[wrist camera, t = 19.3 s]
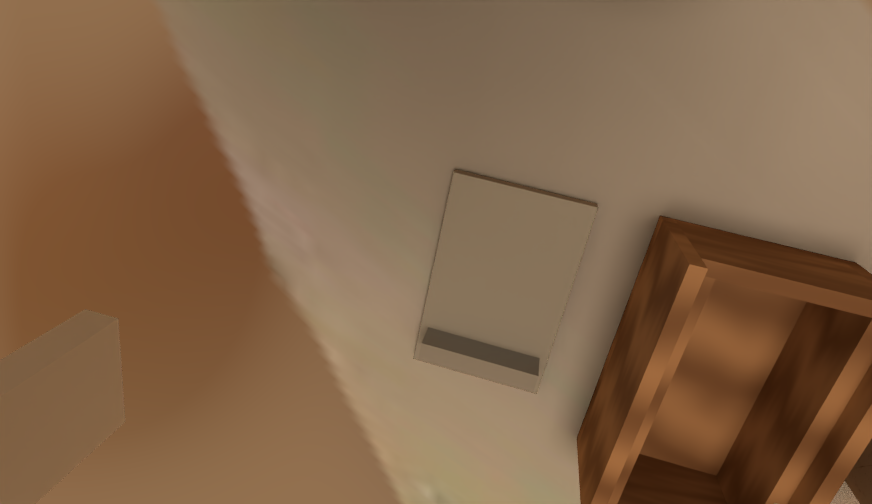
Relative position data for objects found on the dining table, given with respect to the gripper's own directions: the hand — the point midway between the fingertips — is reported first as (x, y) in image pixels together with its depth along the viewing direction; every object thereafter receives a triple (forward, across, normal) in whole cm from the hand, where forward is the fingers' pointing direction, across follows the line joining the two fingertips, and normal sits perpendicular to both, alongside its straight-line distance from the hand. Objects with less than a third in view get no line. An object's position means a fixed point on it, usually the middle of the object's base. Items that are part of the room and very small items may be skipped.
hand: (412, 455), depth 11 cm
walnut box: (+30, +17, -12) cm, 37 cm away
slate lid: (+31, +1, -10) cm, 33 cm away
